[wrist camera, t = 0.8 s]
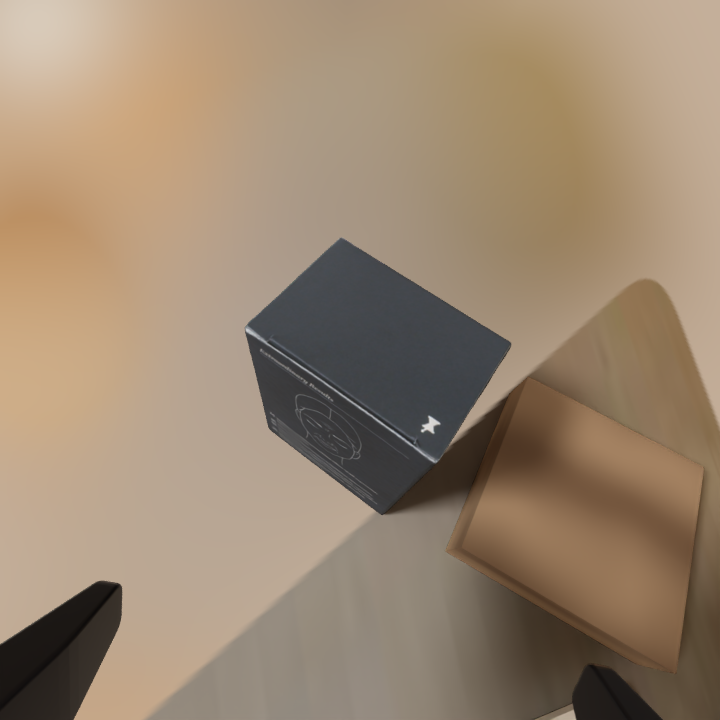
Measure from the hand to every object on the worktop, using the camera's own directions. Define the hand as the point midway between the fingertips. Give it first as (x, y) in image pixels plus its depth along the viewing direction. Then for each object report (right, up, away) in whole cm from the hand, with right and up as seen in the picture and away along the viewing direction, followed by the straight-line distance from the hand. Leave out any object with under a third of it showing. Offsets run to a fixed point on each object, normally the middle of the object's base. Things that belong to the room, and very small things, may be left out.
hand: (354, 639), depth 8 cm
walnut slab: (+11, -3, +15) cm, 19 cm away
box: (0, +1, +16) cm, 16 cm away
